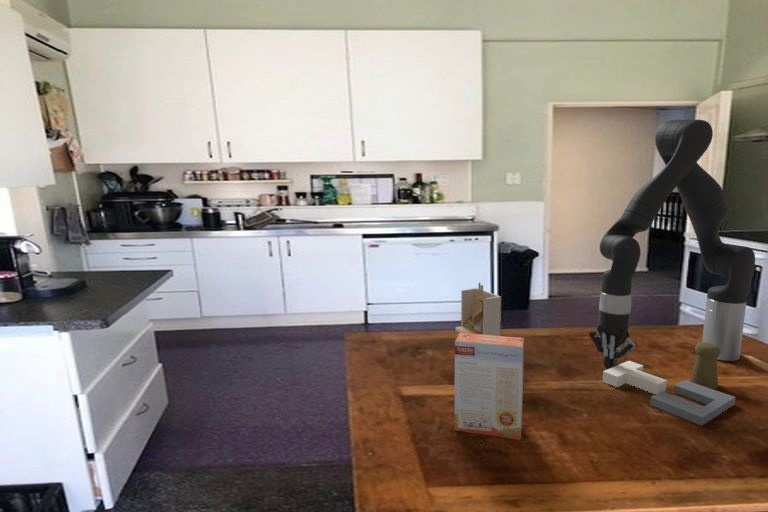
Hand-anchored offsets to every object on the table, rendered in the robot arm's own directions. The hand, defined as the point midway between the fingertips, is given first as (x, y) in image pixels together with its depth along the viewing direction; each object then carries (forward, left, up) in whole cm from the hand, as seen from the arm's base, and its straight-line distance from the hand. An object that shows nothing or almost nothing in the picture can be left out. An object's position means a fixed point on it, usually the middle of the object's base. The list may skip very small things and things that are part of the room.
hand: (609, 369), depth 124 cm
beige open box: (+24, -26, -2) cm, 35 cm away
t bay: (0, +21, -1) cm, 21 cm away
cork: (-14, +17, -2) cm, 22 cm away
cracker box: (+47, +1, -2) cm, 47 cm away
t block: (0, +8, -1) cm, 8 cm away
